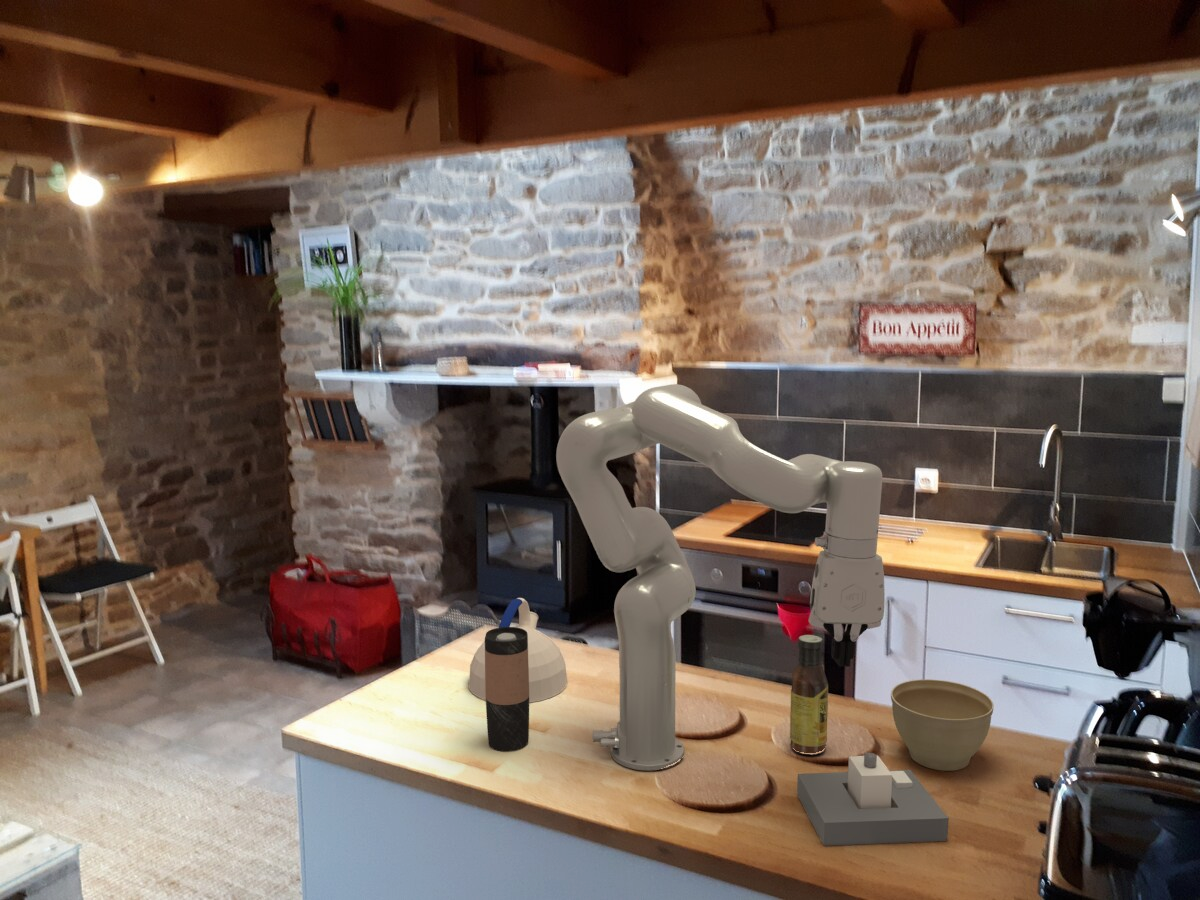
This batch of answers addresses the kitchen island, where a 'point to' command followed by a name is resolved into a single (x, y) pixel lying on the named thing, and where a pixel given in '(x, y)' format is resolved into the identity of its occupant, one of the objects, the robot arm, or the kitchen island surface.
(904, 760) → the kitchen island surface
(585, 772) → the kitchen island surface
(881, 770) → the plug
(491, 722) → the travel mug
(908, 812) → the socket
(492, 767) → the kitchen island surface
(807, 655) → the sauce bottle
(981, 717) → the planter bowl
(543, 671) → the kettle
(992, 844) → the kitchen island surface
